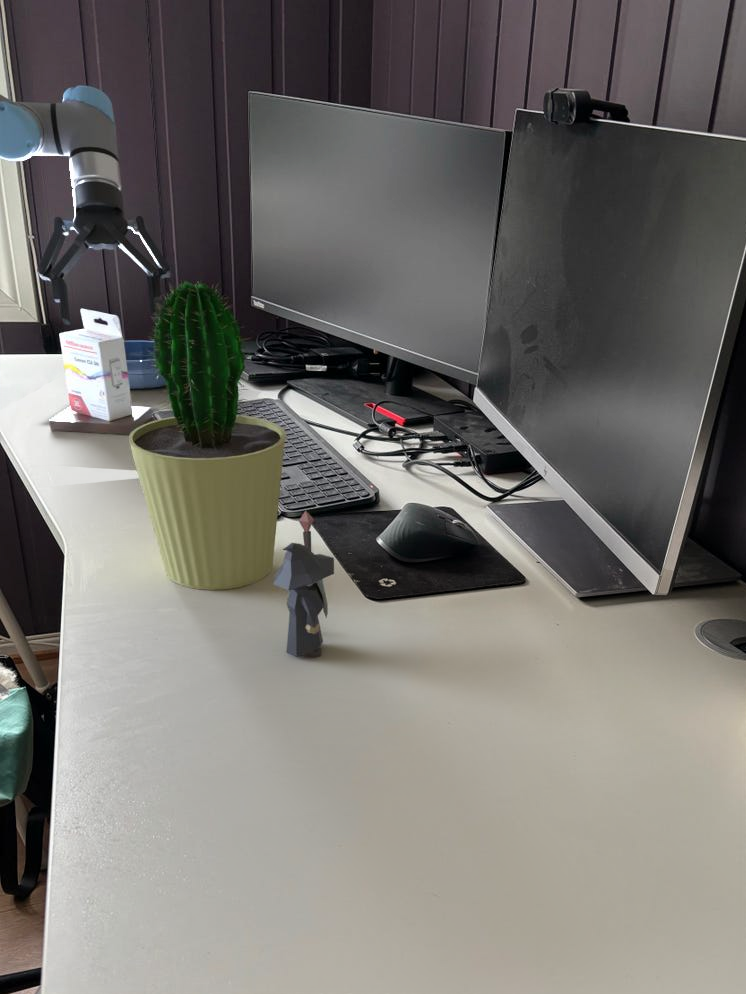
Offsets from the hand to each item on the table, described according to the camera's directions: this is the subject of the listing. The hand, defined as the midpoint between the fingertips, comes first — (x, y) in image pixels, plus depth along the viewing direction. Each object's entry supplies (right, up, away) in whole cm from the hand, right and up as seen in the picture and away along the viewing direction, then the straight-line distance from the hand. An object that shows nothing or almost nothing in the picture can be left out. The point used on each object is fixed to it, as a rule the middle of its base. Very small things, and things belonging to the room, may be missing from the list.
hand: (110, 320), depth 155 cm
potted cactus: (+32, -44, -51) cm, 74 cm away
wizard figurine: (+43, -53, -65) cm, 94 cm away
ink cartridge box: (+2, -17, -9) cm, 19 cm away
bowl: (-1, -5, +16) cm, 16 cm away
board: (+2, -18, -8) cm, 20 cm away
